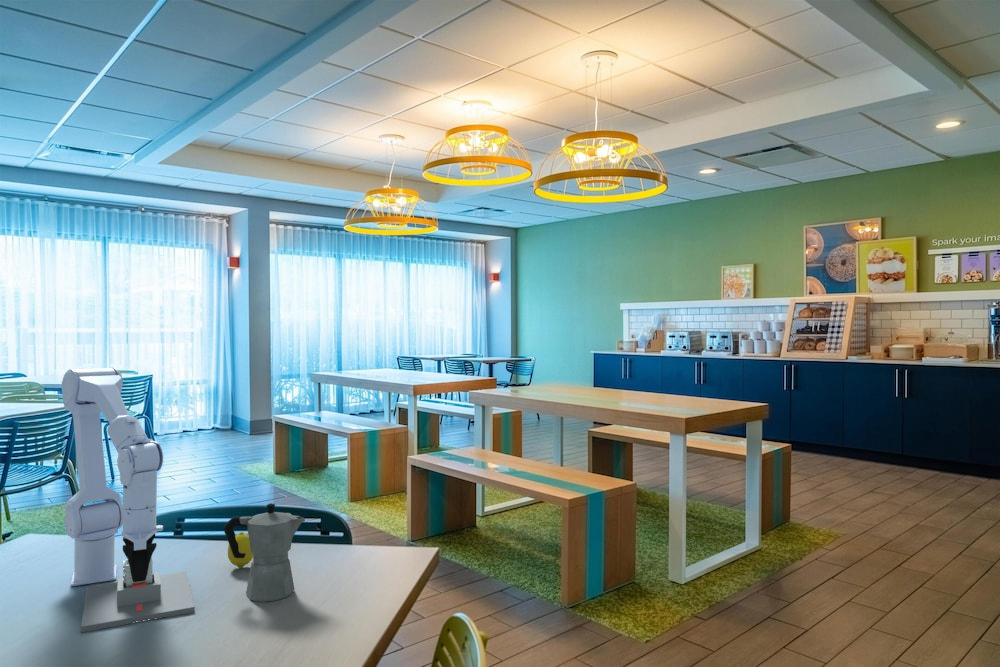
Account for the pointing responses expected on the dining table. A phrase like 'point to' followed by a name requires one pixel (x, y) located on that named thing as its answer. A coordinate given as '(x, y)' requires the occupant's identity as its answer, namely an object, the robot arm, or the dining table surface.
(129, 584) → the white rectangular block
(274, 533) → the coffeepot
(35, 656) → the dining table surface
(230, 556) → the lemon
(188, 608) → the jack base
